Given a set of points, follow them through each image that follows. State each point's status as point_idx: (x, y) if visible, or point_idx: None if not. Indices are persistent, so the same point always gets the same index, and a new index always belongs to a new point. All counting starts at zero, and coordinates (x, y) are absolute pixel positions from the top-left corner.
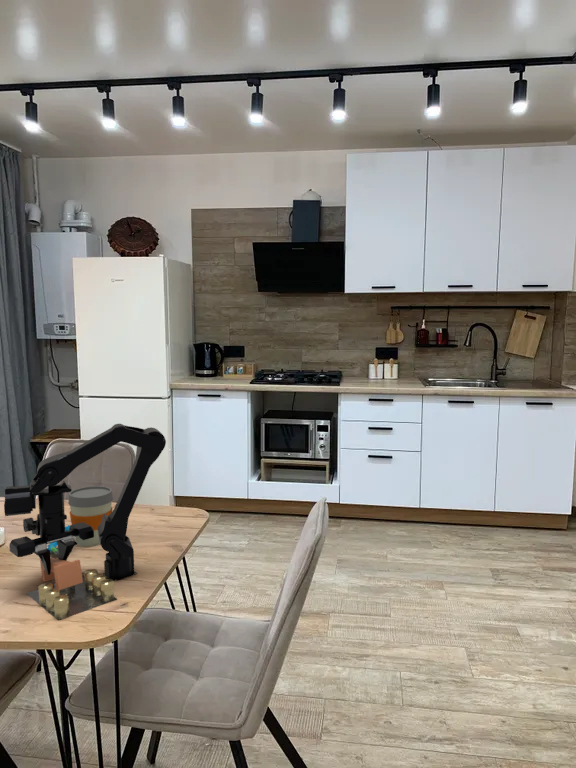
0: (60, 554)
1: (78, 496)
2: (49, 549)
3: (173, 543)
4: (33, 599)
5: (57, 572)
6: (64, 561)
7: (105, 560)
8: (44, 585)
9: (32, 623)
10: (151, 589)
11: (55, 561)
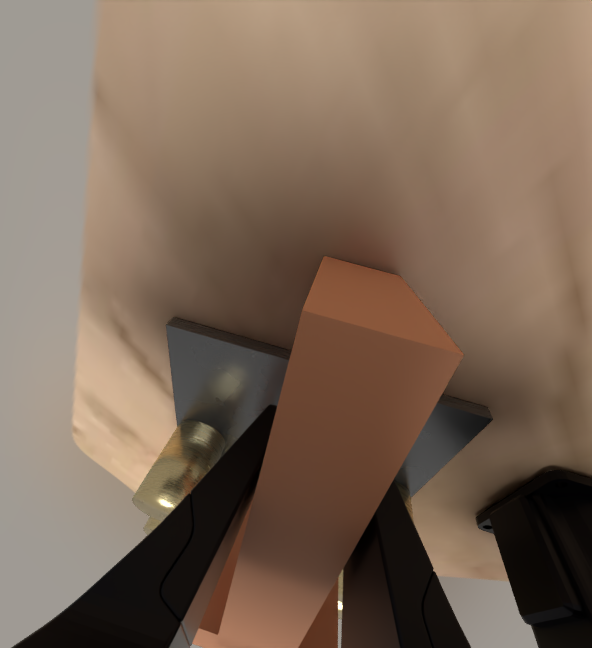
0: (369, 623)
1: None
2: None
3: None
4: (173, 390)
5: None
6: (290, 623)
7: (565, 617)
8: (159, 507)
9: (137, 452)
10: (466, 577)
11: (282, 559)
